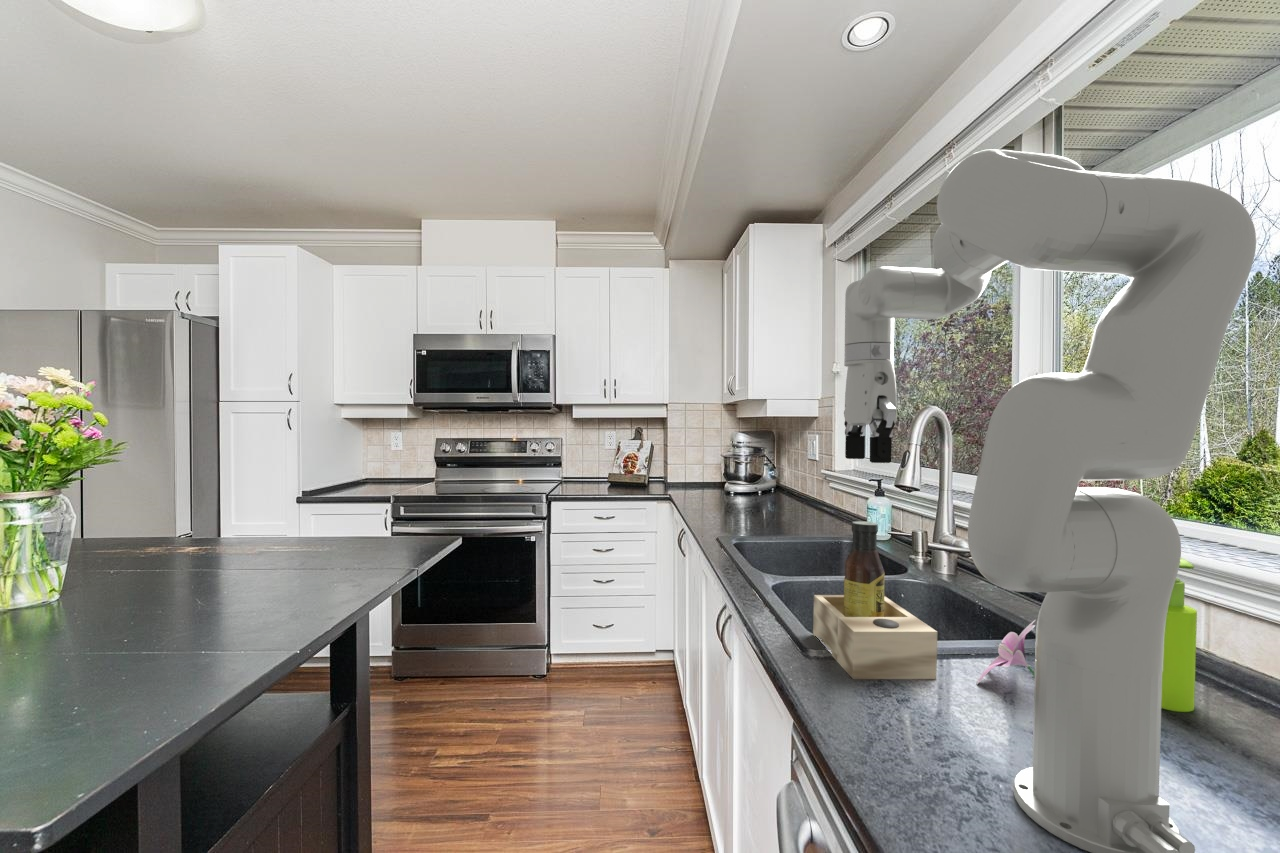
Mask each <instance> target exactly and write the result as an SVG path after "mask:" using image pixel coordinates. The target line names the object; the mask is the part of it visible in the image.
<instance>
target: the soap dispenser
mask: <svg viewBox="0 0 1280 853" xmlns="http://www.w3.org/2000/svg"><path fill="white" fill-rule="evenodd" d="M1179 569H1189V570H1190V569H1191V570H1194V569H1195V566H1194V564H1192V563H1191V562H1190V561H1188V560H1187V559H1185V558H1183V557H1181V558H1180V565H1179ZM1185 586H1186V584H1185V582H1184V581H1182V580H1181V579H1179V578H1177V577H1176V580H1175V583H1174V587H1173V590H1172V593H1171V597H1170V601H1169V606H1168V611H1167V617H1166V625H1165V635H1164V656H1163V672H1162V698H1161V709H1164V710H1166V711H1167V710H1168V711H1172V712H1179V713H1189V712H1194V710H1195V697H1196V696H1195V695H1196V694H1195V692H1196V687H1195V686H1196V663H1197V662H1196V657H1197V656H1196V655H1197V652H1196V651H1197V626H1198V623H1197V621H1198V620H1197V619H1198V617H1197V616H1198V611H1197V609H1195V608H1193V607H1190V606H1188V605H1185V590H1186V589H1185V588H1186V587H1185Z"/></svg>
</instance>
